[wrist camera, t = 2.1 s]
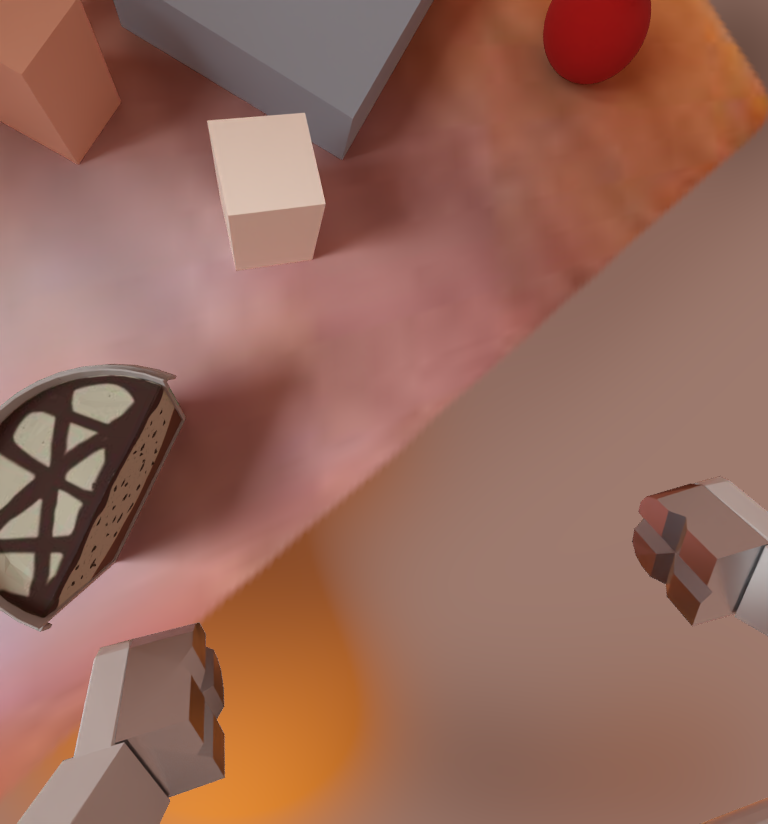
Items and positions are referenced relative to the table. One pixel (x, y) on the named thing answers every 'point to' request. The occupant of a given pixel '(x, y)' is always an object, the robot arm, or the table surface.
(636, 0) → the christmas ornament
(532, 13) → the table surface
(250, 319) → the table surface
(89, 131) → the terracotta column
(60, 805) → the robot arm
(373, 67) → the slate plinth block
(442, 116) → the table surface
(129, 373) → the food container
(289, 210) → the off-white column
